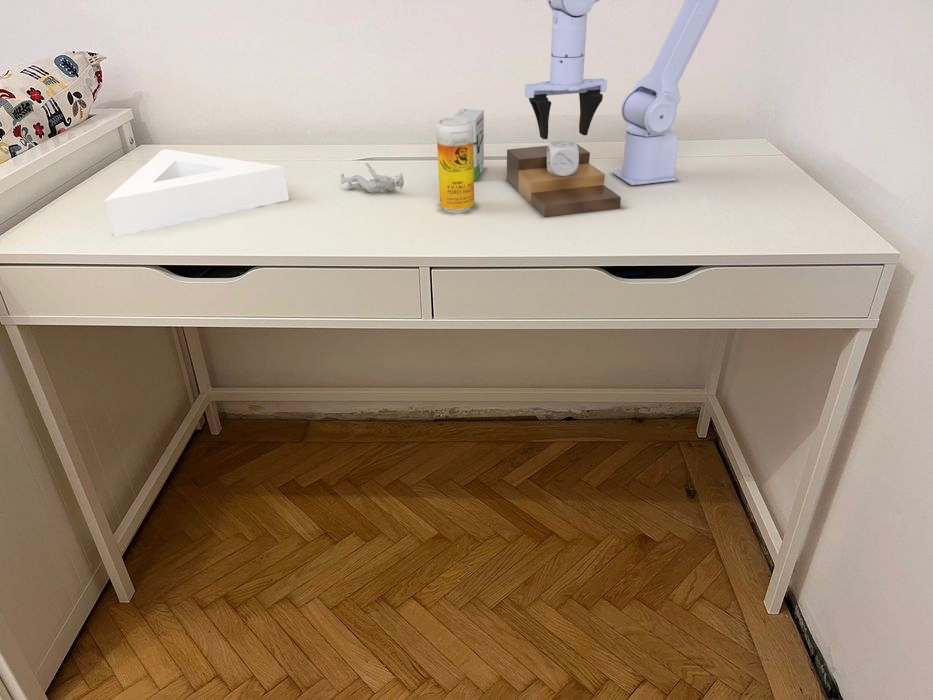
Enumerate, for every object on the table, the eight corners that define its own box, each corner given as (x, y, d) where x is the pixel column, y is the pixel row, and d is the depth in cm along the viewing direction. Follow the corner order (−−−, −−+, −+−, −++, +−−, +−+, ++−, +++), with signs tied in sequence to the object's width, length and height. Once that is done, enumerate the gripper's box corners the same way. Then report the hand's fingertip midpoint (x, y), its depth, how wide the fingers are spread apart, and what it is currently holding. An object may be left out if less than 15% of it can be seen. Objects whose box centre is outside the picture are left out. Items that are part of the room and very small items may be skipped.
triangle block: (115, 237, 114) (104, 200, 111) (90, 195, 133) (79, 162, 129) (289, 200, 128) (283, 166, 125) (244, 167, 147) (238, 136, 143)
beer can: (449, 216, 119) (446, 127, 111) (434, 205, 124) (430, 119, 116) (480, 209, 121) (479, 122, 113) (464, 199, 126) (462, 114, 118)
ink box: (476, 181, 135) (476, 118, 128) (452, 180, 136) (450, 118, 129) (484, 168, 142) (484, 108, 136) (461, 167, 143) (459, 107, 137)
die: (577, 176, 124) (579, 147, 121) (549, 176, 123) (551, 148, 121) (573, 167, 128) (574, 140, 125) (546, 168, 128) (547, 141, 125)
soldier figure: (357, 188, 136) (412, 172, 131) (357, 210, 134) (412, 195, 130) (335, 168, 129) (391, 151, 125) (335, 192, 127) (392, 175, 123)
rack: (573, 173, 138) (575, 142, 135) (620, 208, 121) (623, 174, 118) (506, 180, 135) (506, 149, 132) (544, 217, 118) (545, 182, 115)
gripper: (535, 61, 113) (533, 145, 120) (617, 55, 116) (610, 137, 123) (521, 55, 119) (520, 135, 126) (599, 49, 122) (593, 128, 129)
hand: (563, 136), depth 125 cm, fingers open, 7 cm apart
